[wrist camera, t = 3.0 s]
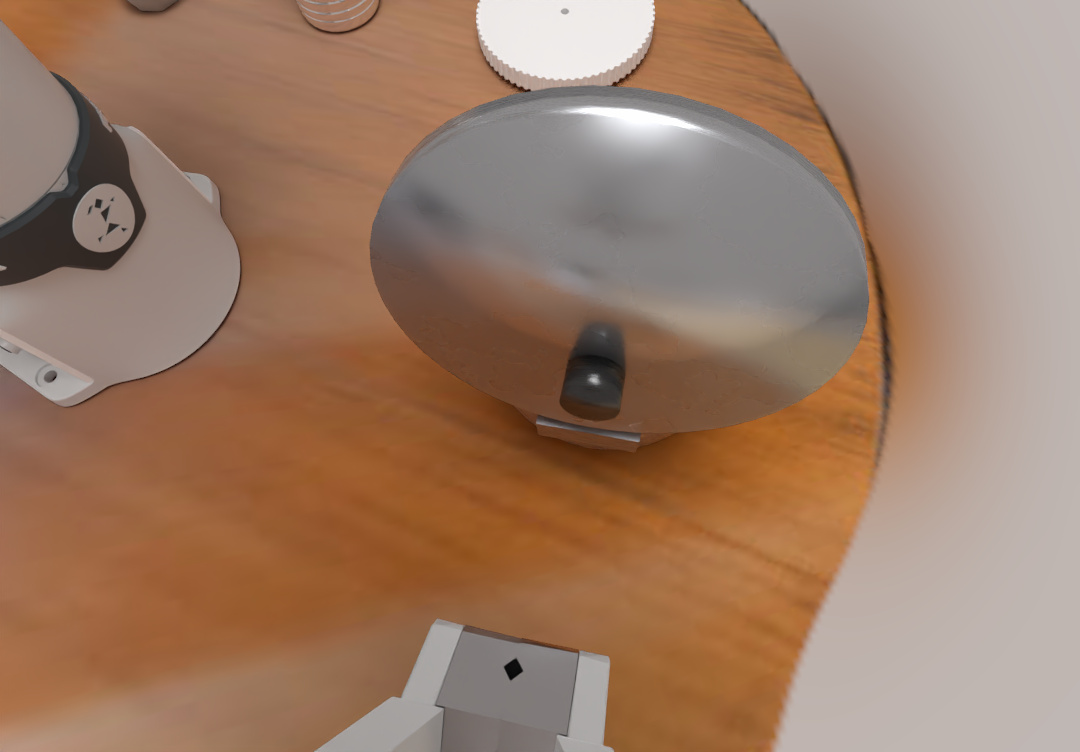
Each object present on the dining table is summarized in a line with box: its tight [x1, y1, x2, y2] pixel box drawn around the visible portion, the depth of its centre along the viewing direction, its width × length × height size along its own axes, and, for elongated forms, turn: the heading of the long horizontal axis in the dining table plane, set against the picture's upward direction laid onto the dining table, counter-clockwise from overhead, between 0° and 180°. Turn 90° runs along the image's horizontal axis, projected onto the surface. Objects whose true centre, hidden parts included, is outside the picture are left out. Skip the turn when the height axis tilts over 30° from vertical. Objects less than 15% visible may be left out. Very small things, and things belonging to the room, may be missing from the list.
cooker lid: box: [370, 85, 869, 433], centre depth 23 cm, size 17×17×3 cm
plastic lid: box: [476, 0, 655, 91], centre depth 52 cm, size 14×14×2 cm
